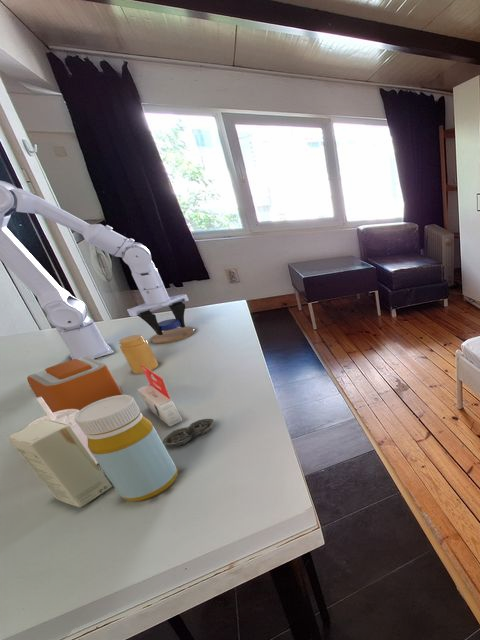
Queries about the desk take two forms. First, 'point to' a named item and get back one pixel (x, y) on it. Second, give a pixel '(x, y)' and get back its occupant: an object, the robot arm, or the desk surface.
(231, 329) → the desk surface
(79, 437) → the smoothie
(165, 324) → the lid
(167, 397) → the ink cartridge box
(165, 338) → the coaster
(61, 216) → the robot arm
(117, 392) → the alarm clock
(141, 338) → the jar
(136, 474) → the bottle
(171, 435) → the corroded twin loop
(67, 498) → the cosmetic box
